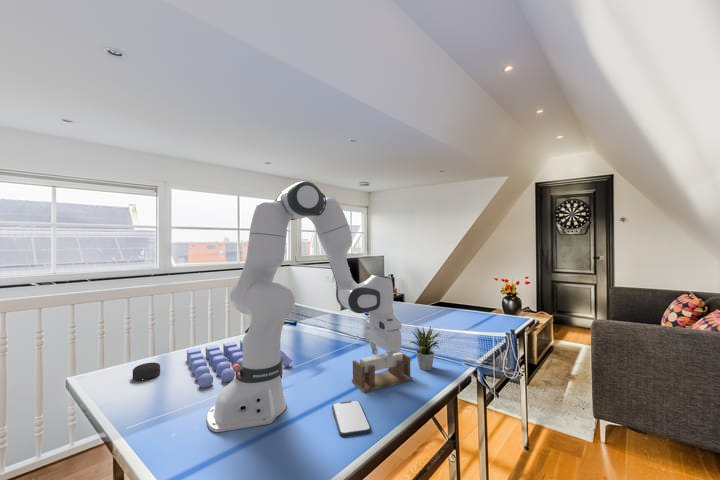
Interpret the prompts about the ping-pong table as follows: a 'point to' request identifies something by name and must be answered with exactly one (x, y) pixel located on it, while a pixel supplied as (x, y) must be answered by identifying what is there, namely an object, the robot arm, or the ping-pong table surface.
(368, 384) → the rack
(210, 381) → the blocks
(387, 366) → the clay strip
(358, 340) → the ping-pong table surface
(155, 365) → the smart speaker
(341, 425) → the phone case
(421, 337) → the house plant
